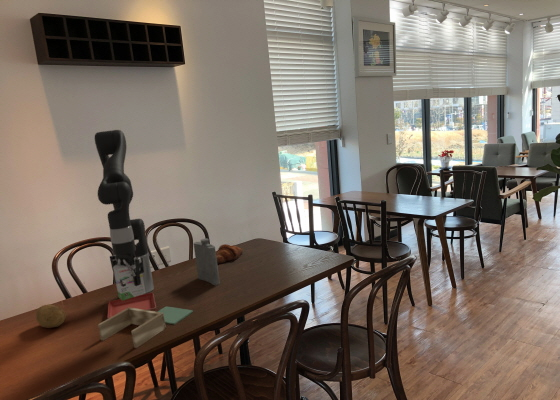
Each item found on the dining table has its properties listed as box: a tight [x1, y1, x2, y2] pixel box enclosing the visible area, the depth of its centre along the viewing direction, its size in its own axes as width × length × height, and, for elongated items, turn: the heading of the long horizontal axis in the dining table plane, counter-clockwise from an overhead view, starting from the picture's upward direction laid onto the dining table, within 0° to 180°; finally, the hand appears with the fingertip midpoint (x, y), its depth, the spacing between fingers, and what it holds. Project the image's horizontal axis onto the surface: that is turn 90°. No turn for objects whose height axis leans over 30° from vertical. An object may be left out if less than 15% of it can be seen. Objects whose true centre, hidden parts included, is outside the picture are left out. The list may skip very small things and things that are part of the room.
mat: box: [157, 305, 194, 326], centre depth 167 cm, size 14×11×1 cm
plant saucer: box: [107, 292, 157, 319], centre depth 175 cm, size 18×18×3 cm
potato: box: [35, 303, 67, 329], centre depth 167 cm, size 10×14×8 cm
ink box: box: [112, 264, 146, 301], centre depth 153 cm, size 8×5×12 cm, turn 125°
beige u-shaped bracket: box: [97, 307, 167, 349], centre depth 154 cm, size 17×14×6 cm
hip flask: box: [193, 238, 221, 286], centre depth 198 cm, size 16×4×20 cm, turn 41°
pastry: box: [216, 243, 244, 265], centre depth 231 cm, size 17×15×8 cm
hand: (130, 283), depth 153 cm, fingers closed on ink box, 6 cm apart
